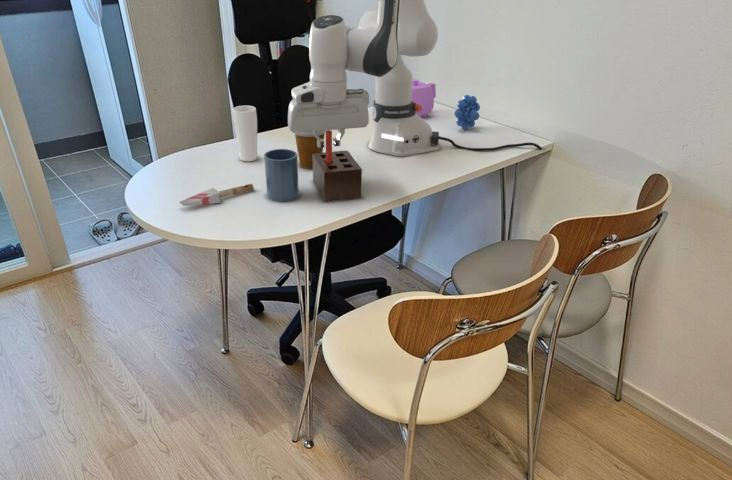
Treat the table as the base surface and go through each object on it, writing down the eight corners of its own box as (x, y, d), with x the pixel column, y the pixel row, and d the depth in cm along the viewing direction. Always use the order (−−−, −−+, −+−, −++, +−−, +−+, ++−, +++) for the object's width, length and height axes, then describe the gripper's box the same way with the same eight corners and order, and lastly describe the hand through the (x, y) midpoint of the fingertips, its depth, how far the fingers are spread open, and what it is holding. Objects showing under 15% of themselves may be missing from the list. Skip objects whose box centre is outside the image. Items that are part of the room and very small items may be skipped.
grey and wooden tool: (177, 195, 137) (248, 179, 148) (178, 206, 139) (249, 189, 149) (183, 201, 135) (255, 184, 146) (185, 211, 136) (256, 194, 147)
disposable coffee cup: (331, 161, 166) (330, 121, 160) (320, 172, 159) (319, 131, 152) (301, 157, 168) (300, 117, 162) (289, 168, 161) (287, 127, 154)
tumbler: (295, 187, 150) (293, 147, 144) (301, 199, 143) (299, 158, 137) (265, 190, 148) (262, 150, 142) (269, 203, 141) (266, 161, 135)
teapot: (422, 107, 214) (425, 73, 207) (443, 115, 205) (447, 80, 198) (379, 115, 205) (381, 79, 198) (399, 124, 196) (402, 87, 189)
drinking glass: (255, 163, 164) (251, 112, 155) (234, 162, 165) (228, 111, 156) (263, 155, 169) (259, 106, 161) (242, 154, 170) (237, 104, 162)
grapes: (462, 136, 186) (467, 100, 179) (448, 131, 191) (452, 95, 184) (486, 129, 192) (491, 94, 185) (471, 124, 196) (476, 90, 190)
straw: (331, 188, 149) (331, 130, 140) (332, 191, 148) (332, 132, 139) (325, 189, 149) (324, 130, 140) (326, 191, 148) (326, 132, 139)
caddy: (347, 177, 156) (347, 150, 151) (361, 198, 145) (362, 169, 140) (313, 181, 153) (312, 153, 149) (324, 202, 142) (324, 172, 138)
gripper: (365, 85, 139) (364, 138, 147) (284, 89, 134) (287, 145, 142) (373, 91, 134) (371, 147, 142) (289, 96, 129) (292, 153, 137)
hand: (328, 146), depth 142 cm, fingers open, 3 cm apart
